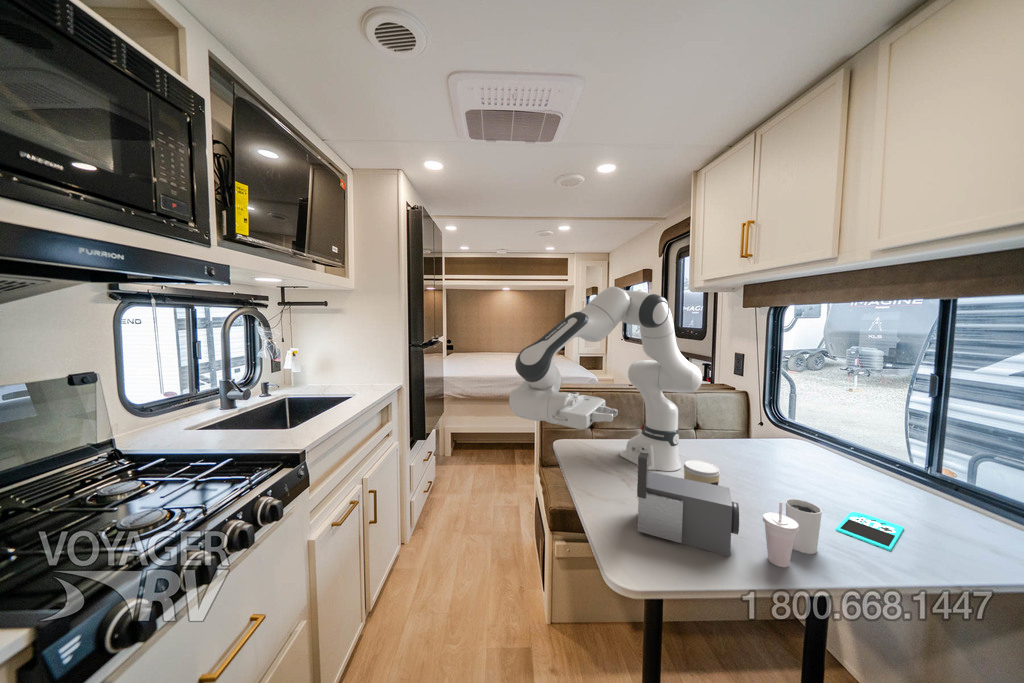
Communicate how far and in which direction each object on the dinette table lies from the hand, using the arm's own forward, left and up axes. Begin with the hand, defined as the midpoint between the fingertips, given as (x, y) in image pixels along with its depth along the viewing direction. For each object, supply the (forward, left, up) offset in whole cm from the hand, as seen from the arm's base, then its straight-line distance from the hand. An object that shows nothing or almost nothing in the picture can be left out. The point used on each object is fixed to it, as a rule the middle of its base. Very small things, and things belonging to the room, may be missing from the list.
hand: (615, 415), depth 88 cm
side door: (+10, +5, -29) cm, 31 cm away
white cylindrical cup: (+30, +32, -30) cm, 53 cm away
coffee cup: (+7, +30, -30) cm, 43 cm away
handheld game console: (+38, +55, -31) cm, 74 cm away
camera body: (+11, +14, -30) cm, 35 cm away
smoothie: (+29, +21, -30) cm, 47 cm away
